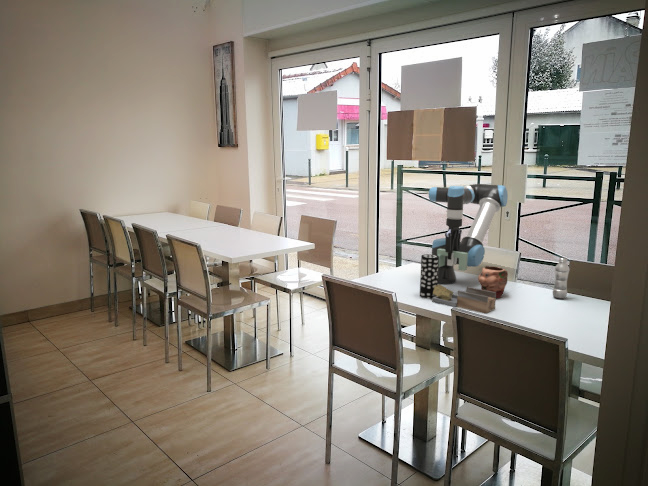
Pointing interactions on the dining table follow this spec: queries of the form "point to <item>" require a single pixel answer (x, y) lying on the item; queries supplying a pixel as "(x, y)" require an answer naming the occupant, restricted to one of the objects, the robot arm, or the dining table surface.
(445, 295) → the brass block
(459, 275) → the dining table surface
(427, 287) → the spotted tube
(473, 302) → the slot ledge
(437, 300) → the tray
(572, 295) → the dining table surface
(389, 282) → the dining table surface
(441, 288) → the yellow rock
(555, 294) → the plastic bottle
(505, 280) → the decorative planter
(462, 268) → the mint green arch block
